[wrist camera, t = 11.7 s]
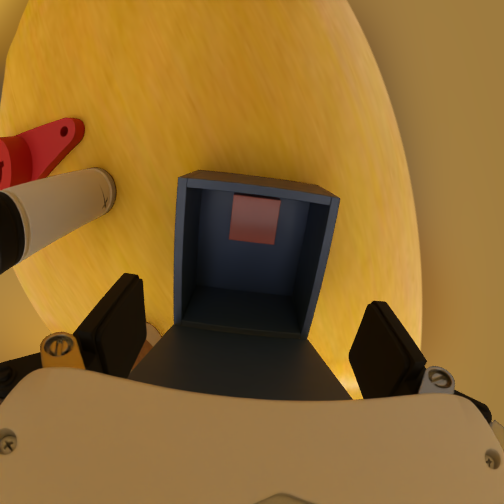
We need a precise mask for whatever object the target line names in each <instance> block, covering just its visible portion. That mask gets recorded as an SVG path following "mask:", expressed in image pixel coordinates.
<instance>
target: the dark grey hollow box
mask: <svg viewBox="0 0 504 504" xmlns="http://www.w3.org/2000/svg"><path fill="white" fill-rule="evenodd" d="M235 192H237V193H246V194H254V195H262V196H269V197H277V198H280V200H281V204H280V211H279V217H278V224H277V230H276V237H275V243H274V245H270V244H262V243H254V242H245V241H237V240H229V231H230V222H231V213H232V204H233V195H234V193H235ZM339 202H340V198H339V197H337V196H336V195H334V194H332V193H330V192H329V191H327V190H325V189H323V188H322V187H320V186H318V185H313V184H307V183H301V182H295V181H288V180H281V179H274V178H267V177H260V176H252V175H243V174H234V173H225V172H215V171H205V170H197V171H194V172H192V173H189V174H186V175H183V176H181V177H178V187H177V202H176V219H175V242H174V325H179V326H185V327H192V328H198V329H206V330H213V331H221V332H229V333H237V334H247V335H256V336H267V337H279V338H292V339H307V337H308V333H309V330H310V326H311V323H312V319H313V315H314V312H315V308H316V304H317V300H318V297H319V293H320V289H321V285H322V281H323V277H324V273H325V268H326V264H327V260H328V255H329V251H330V247H331V242H332V237H333V233H334V228H335V223H336V218H337V213H338V208H339Z"/></svg>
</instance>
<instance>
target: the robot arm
mask: <svg viewBox="0 0 504 504" xmlns="http://www.w3.org/2000/svg"><path fill="white" fill-rule="evenodd" d="M146 337H147V328H146V318H145V306H144V292H143V281H142V279H139V276H138V275H135V274H129V273H124V274H123V275H122V276H121V277H120V278H119V279H118V281H117V282H116V283H115V284H114V285H113V286H112V287H111V289H110V290H109V291H108V292H107V293H106V294H105V296H104V297H103V298H102V299H101V300H100V301H99V303H98V304H97V305H96V306H95V307H94V309H93V310H92V311H91V312H90V313H89V315H88V316H87V317H86V318H85V320H84V321H83V322H82V323H81V324H80V326H79V327H78V328H77V330H76V331H75V332H74V333H73V335H72V334H69V333H67V332H56V333H53V334H50V335H49V336H47V337H46V338H45V339H44V340H43V341H42V343H41V345H40V352H39V353H36V354H32V355H28V356H25V357H21V358H17V359H13V360H9V361H5V362H2V363H0V504H504V427H503V426H502V425H501V424H499V423H498V422H497V421H496V420H494V421H493V422H491V420H492V415H491V412H490V410H489V408H488V407H487V406H486V405H485V404H483V403H481V402H479V401H477V400H475V399H473V398H470V397H468V396H466V395H464V394H462V393H460V392H458V391H456V390H454V387H455V380H454V378H453V376H452V375H451V374H450V373H449V372H448V371H447V370H445V369H443V368H441V367H438V366H432V367H429V368H427V369H426V368H425V366H424V365H425V364H426V362H427V360H426V359H425V357H424V356H423V354H422V353H421V351H420V350H419V348H418V347H417V345H416V344H415V342H414V341H413V339H412V338H411V336H410V335H409V334H408V332H407V331H406V329H405V328H404V326H403V325H402V324H401V322H400V321H399V319H398V318H397V316H396V315H395V314H394V312H393V311H392V310H391V308H390V307H389V305H388V304H387V303H386V302H383V301H373V302H372V303H371V304H368V306H367V308H366V310H365V313H364V316H363V319H362V321H361V324H360V327H359V329H358V332H357V334H356V337H355V339H354V342H353V344H352V347H351V349H350V352H349V361H350V364H351V366H352V369H353V372H354V374H355V377H356V380H357V382H358V385H359V388H360V390H361V393H362V396H363V399H359V400H338V401H287V400H265V399H251V398H239V397H229V396H220V395H211V394H204V393H197V392H190V391H184V390H178V389H172V388H167V387H161V386H156V385H151V384H147V383H142V382H138V381H133V380H129V379H128V376H129V374H130V372H131V370H132V368H133V366H134V363H135V361H136V359H137V357H138V355H139V353H140V351H141V349H142V347H143V344H144V342H145V340H146Z"/></svg>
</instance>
